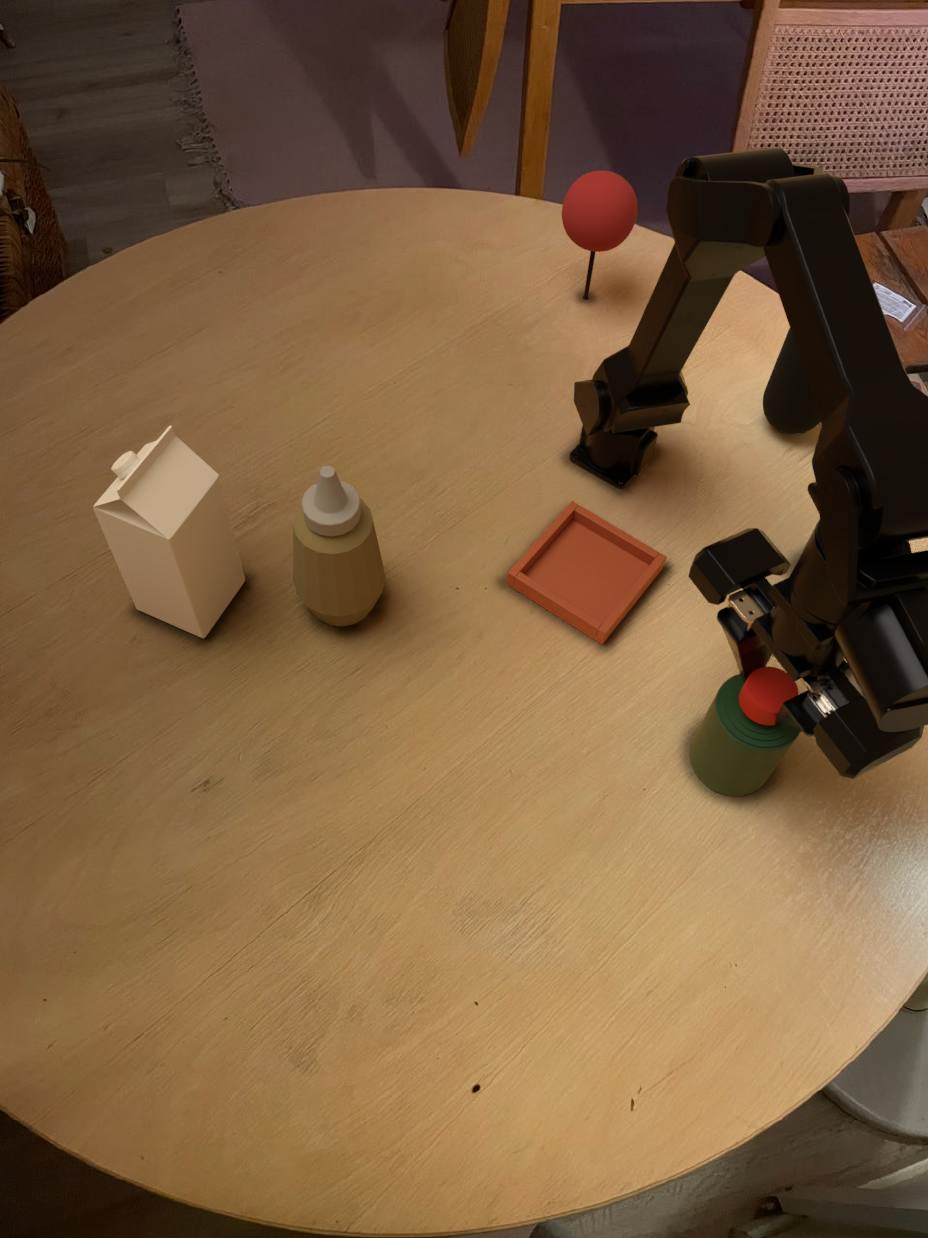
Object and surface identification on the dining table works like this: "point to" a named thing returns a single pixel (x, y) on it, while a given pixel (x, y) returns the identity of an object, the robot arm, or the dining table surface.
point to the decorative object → (790, 393)
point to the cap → (766, 694)
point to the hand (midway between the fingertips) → (765, 701)
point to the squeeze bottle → (336, 552)
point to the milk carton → (172, 534)
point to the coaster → (586, 571)
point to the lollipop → (599, 214)
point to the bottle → (736, 745)
